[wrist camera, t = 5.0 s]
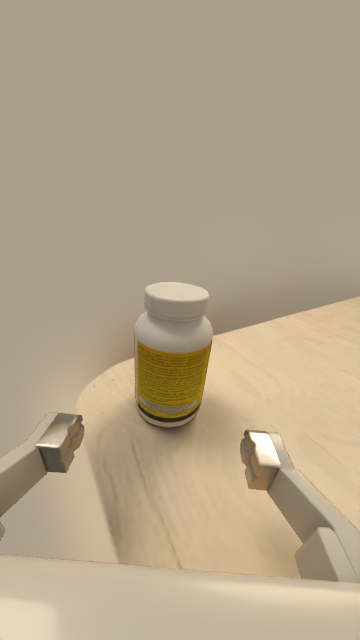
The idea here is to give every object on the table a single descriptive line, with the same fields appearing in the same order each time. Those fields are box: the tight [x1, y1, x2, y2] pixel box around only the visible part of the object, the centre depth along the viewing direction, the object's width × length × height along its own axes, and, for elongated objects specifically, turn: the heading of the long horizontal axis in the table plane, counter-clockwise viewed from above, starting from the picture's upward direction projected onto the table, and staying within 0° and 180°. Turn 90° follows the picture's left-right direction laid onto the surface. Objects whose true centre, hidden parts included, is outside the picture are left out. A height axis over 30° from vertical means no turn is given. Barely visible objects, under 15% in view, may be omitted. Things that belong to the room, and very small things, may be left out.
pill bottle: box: [134, 282, 213, 427], centre depth 16 cm, size 6×6×11 cm
